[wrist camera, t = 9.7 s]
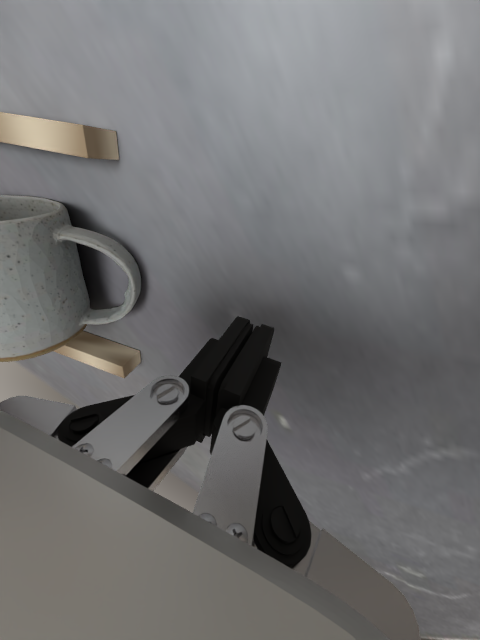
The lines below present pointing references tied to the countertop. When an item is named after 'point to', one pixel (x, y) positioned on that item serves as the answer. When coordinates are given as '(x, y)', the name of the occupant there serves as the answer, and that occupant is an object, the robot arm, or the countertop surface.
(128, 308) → the ceramic mug
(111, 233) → the countertop surface
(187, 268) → the countertop surface
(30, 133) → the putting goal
